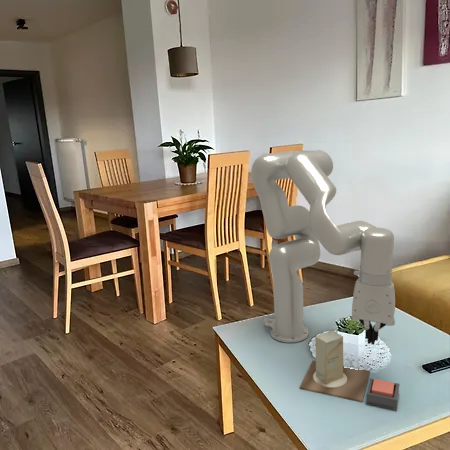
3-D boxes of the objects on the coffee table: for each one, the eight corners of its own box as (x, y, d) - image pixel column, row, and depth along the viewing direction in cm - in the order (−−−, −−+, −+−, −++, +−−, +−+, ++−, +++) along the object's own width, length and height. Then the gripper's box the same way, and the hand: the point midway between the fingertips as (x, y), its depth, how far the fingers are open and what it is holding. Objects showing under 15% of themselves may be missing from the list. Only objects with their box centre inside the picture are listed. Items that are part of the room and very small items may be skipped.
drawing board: (299, 388, 113) (299, 386, 113) (312, 361, 125) (312, 359, 125) (362, 402, 106) (362, 400, 106) (369, 372, 118) (369, 370, 118)
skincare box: (326, 384, 113) (325, 343, 110) (315, 376, 117) (314, 336, 114) (344, 377, 116) (344, 336, 113) (332, 369, 120) (332, 329, 117)
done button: (371, 398, 105) (371, 389, 105) (373, 387, 110) (374, 379, 109) (392, 403, 103) (392, 393, 103) (394, 391, 108) (394, 382, 107)
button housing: (366, 404, 105) (366, 393, 105) (370, 388, 111) (370, 378, 111) (396, 411, 102) (397, 400, 101) (398, 394, 108) (399, 383, 108)
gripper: (342, 278, 108) (339, 342, 112) (406, 286, 101) (400, 355, 106) (347, 268, 114) (345, 329, 119) (408, 275, 107) (403, 340, 112)
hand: (371, 341), depth 112 cm, fingers closed
